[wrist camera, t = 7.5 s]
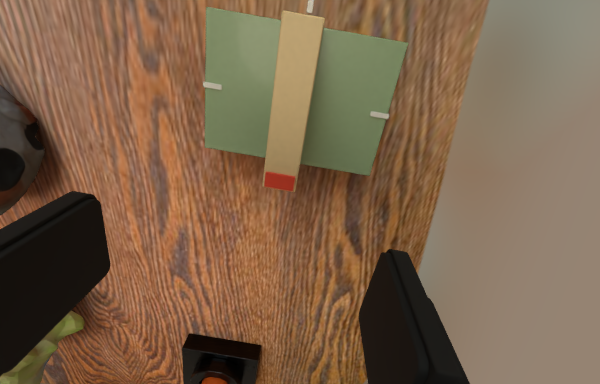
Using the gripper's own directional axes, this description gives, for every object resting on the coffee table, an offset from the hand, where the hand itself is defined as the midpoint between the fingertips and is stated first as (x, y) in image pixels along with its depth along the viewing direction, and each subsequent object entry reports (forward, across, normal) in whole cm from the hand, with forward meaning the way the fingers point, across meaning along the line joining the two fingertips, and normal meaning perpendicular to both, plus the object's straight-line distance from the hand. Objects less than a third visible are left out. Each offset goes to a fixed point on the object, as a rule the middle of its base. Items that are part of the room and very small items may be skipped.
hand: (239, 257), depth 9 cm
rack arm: (+15, 0, -3) cm, 15 cm away
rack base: (+18, 0, -3) cm, 18 cm away
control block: (+18, +4, +34) cm, 38 cm away
